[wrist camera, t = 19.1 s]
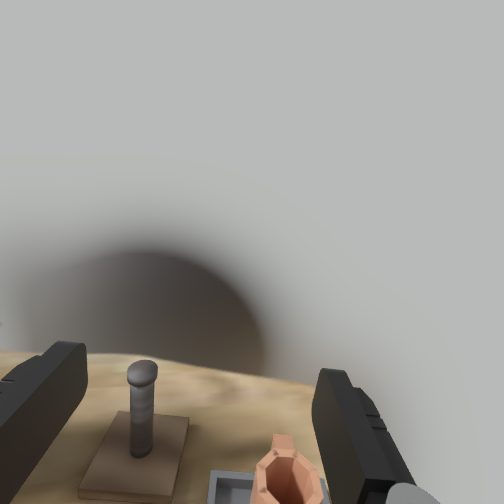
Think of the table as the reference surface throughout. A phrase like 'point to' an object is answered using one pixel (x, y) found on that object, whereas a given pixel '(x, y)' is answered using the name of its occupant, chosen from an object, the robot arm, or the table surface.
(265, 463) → the sleeve
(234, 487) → the tray
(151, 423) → the stake stand
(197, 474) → the table surface
